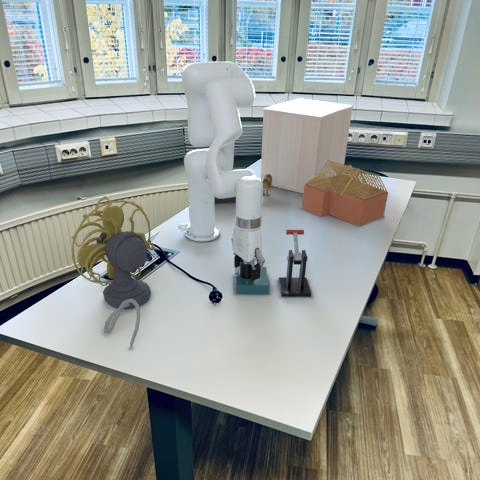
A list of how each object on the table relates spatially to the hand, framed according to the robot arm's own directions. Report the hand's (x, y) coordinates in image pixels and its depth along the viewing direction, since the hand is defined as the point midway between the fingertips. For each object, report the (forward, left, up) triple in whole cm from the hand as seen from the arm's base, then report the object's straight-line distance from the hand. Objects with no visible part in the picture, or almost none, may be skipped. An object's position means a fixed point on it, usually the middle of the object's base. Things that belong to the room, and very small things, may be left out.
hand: (246, 272), depth 145 cm
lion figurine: (+10, +82, -4) cm, 83 cm away
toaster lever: (+15, +2, +7) cm, 17 cm away
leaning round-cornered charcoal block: (-5, +72, -4) cm, 73 cm away
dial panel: (+2, 0, -4) cm, 5 cm away
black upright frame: (+15, -3, -4) cm, 16 cm away
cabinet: (+33, +105, -4) cm, 110 cm away
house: (+45, +62, -4) cm, 77 cm away
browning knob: (0, 0, -1) cm, 1 cm away
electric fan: (-32, -15, -4) cm, 35 cm away
